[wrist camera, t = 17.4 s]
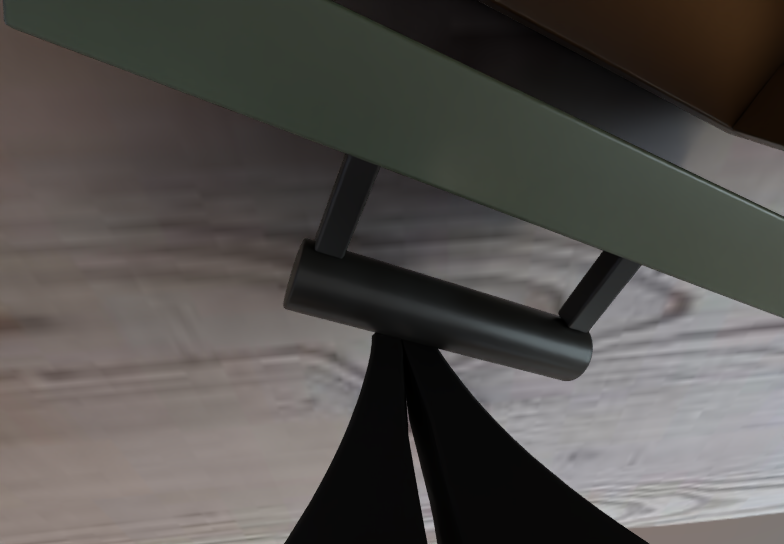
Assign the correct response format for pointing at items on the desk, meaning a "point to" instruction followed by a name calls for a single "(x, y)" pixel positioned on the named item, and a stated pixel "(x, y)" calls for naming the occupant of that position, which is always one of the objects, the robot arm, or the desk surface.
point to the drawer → (478, 146)
